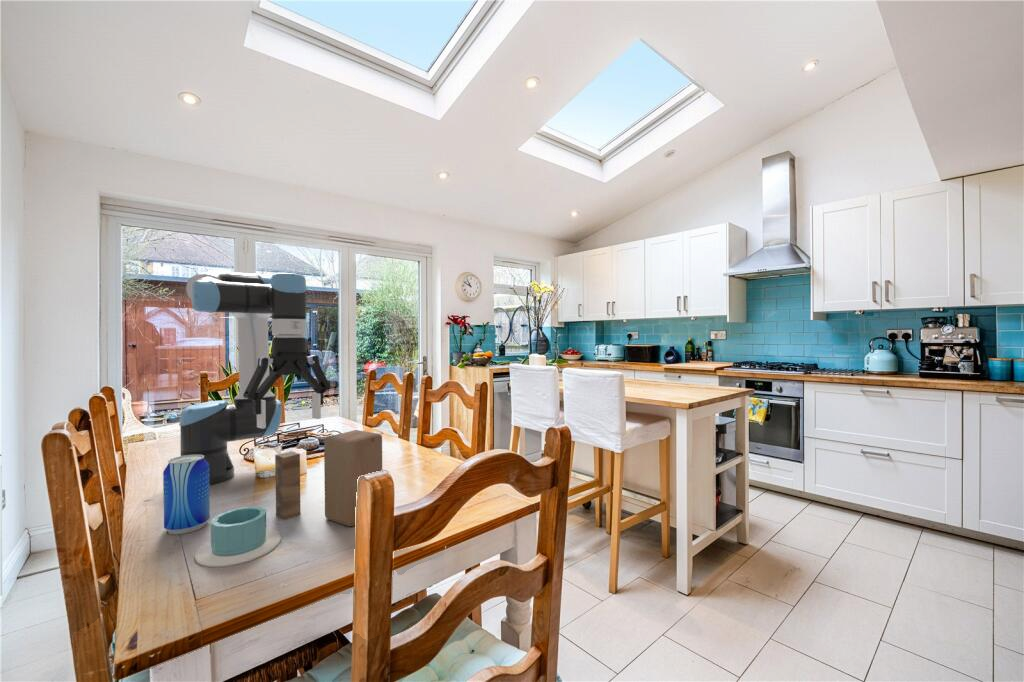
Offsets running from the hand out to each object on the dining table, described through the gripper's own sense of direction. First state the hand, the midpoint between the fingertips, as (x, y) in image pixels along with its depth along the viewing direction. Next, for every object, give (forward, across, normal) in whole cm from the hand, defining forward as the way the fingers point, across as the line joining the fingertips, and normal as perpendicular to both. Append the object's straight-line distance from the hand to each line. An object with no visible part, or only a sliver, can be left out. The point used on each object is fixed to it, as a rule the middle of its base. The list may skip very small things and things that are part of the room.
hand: (290, 422), depth 105 cm
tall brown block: (+23, -1, 0) cm, 23 cm away
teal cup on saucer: (+23, -15, -8) cm, 28 cm away
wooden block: (+23, +8, -14) cm, 28 cm away
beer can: (+23, -18, +12) cm, 31 cm away
